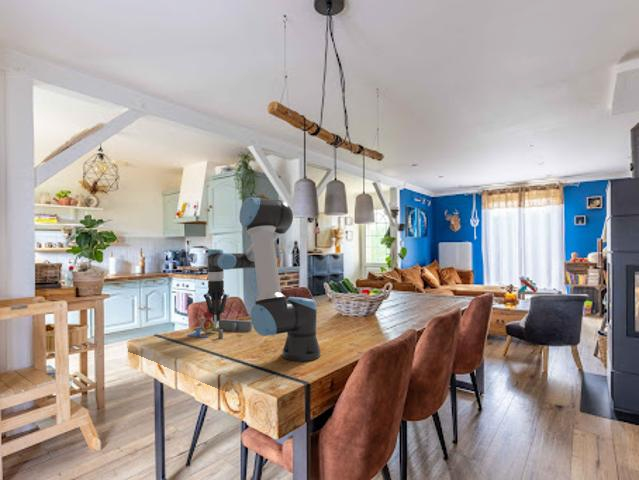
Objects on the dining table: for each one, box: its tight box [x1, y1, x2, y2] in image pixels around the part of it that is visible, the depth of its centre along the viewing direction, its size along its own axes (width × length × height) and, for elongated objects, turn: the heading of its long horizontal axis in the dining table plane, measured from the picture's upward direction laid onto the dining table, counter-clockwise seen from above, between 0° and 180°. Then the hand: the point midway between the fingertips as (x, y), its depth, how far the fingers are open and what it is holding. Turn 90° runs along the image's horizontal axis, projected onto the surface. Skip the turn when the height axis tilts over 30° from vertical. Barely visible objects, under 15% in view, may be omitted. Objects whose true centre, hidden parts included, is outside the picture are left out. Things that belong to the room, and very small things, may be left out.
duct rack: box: [187, 317, 253, 340], centre depth 175 cm, size 18×28×5 cm, turn 77°
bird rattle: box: [200, 310, 220, 335], centre depth 175 cm, size 6×11×9 cm
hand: (216, 327), depth 174 cm, fingers closed
